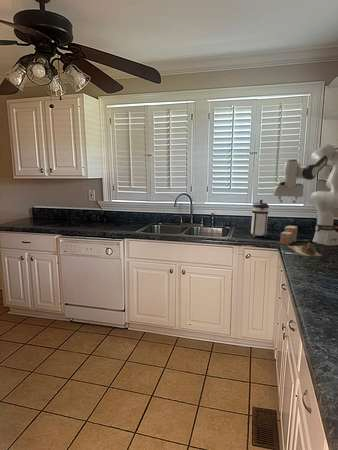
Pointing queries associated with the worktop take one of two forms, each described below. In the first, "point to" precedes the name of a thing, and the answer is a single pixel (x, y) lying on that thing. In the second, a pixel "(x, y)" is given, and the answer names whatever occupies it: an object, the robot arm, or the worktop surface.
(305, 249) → the walnut bead
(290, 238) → the stack of blocks
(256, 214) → the coffee press
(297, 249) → the lacing board
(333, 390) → the worktop surface
